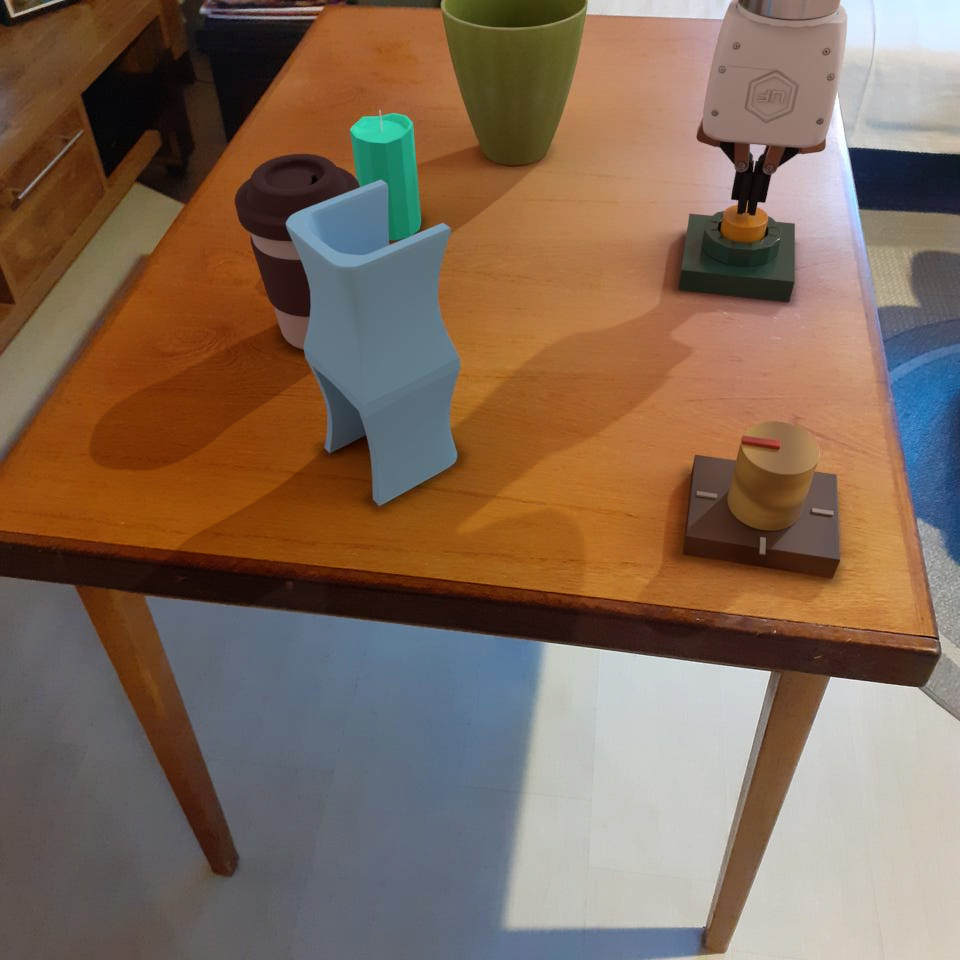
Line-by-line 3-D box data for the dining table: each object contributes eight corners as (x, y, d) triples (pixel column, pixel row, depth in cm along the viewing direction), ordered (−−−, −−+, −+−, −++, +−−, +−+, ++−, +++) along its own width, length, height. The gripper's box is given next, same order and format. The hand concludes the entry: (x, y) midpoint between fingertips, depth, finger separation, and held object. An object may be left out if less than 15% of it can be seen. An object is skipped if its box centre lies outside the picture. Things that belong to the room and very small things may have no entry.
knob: (801, 483, 65) (821, 423, 61) (800, 536, 62) (821, 476, 57) (729, 473, 66) (743, 412, 62) (724, 524, 63) (739, 464, 58)
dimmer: (830, 487, 67) (837, 466, 66) (833, 585, 61) (841, 565, 60) (691, 467, 69) (695, 447, 68) (681, 561, 63) (685, 541, 62)
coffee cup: (244, 339, 82) (202, 183, 71) (317, 284, 87) (289, 132, 76) (328, 377, 78) (298, 218, 67) (400, 318, 83) (383, 162, 72)
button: (765, 223, 86) (768, 206, 85) (764, 246, 83) (767, 229, 82) (721, 219, 87) (724, 202, 85) (719, 241, 84) (722, 224, 83)
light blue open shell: (465, 458, 71) (452, 227, 56) (379, 506, 67) (342, 274, 53) (407, 405, 75) (382, 178, 61) (324, 448, 72) (276, 218, 57)
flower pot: (423, 146, 106) (412, -2, 95) (524, 109, 112) (525, -35, 100) (502, 197, 98) (501, 41, 86) (607, 154, 104) (618, 2, 92)
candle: (430, 214, 96) (421, 100, 87) (408, 244, 92) (397, 128, 83) (377, 206, 97) (363, 93, 88) (353, 235, 93) (336, 120, 84)
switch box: (790, 243, 90) (799, 206, 87) (789, 302, 83) (799, 264, 80) (686, 233, 92) (692, 196, 89) (677, 290, 85) (683, 252, 82)
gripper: (687, 1, 69) (658, 220, 82) (897, 13, 66) (833, 238, 79) (694, -33, 74) (666, 179, 87) (890, -23, 71) (831, 194, 84)
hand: (746, 206), depth 83 cm, fingers closed
